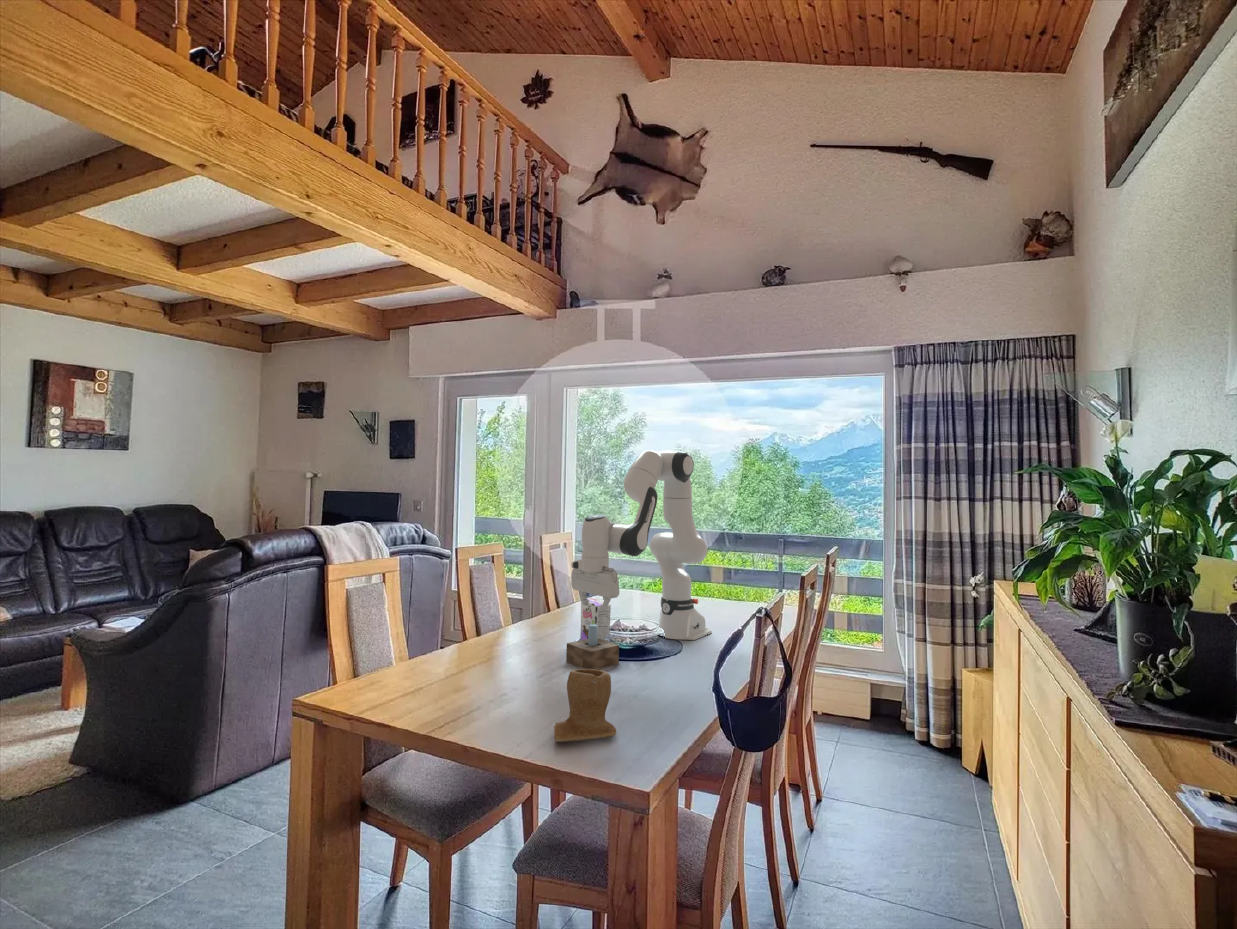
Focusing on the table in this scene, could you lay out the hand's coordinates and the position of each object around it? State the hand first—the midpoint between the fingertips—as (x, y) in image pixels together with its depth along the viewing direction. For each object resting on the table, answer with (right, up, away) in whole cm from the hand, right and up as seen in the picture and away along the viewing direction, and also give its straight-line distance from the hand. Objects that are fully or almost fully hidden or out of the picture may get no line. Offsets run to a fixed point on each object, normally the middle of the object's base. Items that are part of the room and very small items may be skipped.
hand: (594, 607), depth 201 cm
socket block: (-1, -18, 0) cm, 18 cm away
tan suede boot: (-1, -17, -56) cm, 59 cm away
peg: (-1, -18, 0) cm, 18 cm away
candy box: (-1, -18, +17) cm, 25 cm away
